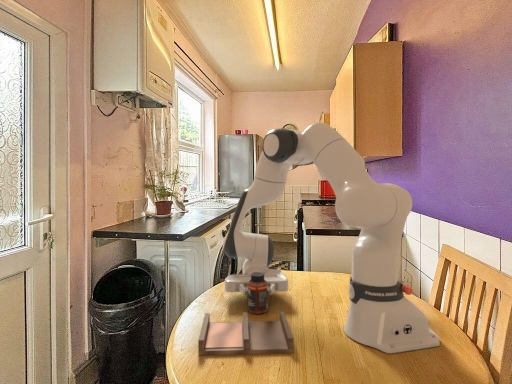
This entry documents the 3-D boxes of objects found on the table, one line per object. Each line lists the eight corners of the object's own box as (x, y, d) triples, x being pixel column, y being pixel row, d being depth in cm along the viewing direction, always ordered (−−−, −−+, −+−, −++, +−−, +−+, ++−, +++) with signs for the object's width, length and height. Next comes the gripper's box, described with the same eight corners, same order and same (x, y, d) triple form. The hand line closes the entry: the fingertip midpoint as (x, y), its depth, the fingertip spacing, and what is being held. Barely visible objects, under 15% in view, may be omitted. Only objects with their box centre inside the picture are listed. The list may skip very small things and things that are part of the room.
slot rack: (284, 324, 85) (284, 311, 85) (293, 353, 71) (293, 338, 71) (205, 325, 84) (205, 313, 84) (198, 355, 70) (198, 340, 70)
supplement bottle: (270, 309, 95) (271, 272, 94) (261, 316, 90) (261, 278, 89) (254, 305, 98) (254, 269, 97) (244, 312, 93) (244, 274, 92)
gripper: (225, 268, 106) (223, 282, 92) (284, 268, 107) (291, 281, 93) (225, 286, 106) (223, 303, 92) (284, 286, 107) (291, 302, 93)
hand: (257, 292), depth 93 cm, fingers closed on supplement bottle, 6 cm apart
